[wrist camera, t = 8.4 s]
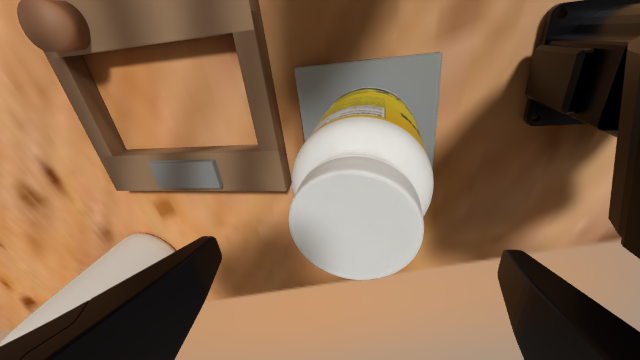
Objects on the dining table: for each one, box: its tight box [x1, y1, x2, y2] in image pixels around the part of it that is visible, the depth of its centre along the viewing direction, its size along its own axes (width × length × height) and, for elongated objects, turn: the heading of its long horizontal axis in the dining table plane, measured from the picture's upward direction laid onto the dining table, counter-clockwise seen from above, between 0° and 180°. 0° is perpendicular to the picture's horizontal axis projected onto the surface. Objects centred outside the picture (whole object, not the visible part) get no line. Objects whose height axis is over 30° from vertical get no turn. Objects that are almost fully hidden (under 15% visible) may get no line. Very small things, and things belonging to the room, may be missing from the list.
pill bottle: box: [288, 87, 434, 280], centre depth 14 cm, size 6×6×11 cm
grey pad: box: [294, 52, 442, 172], centre depth 19 cm, size 9×9×1 cm
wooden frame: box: [17, 0, 292, 191], centre depth 20 cm, size 17×15×4 cm
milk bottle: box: [0, 233, 175, 346], centre depth 24 cm, size 8×8×20 cm
